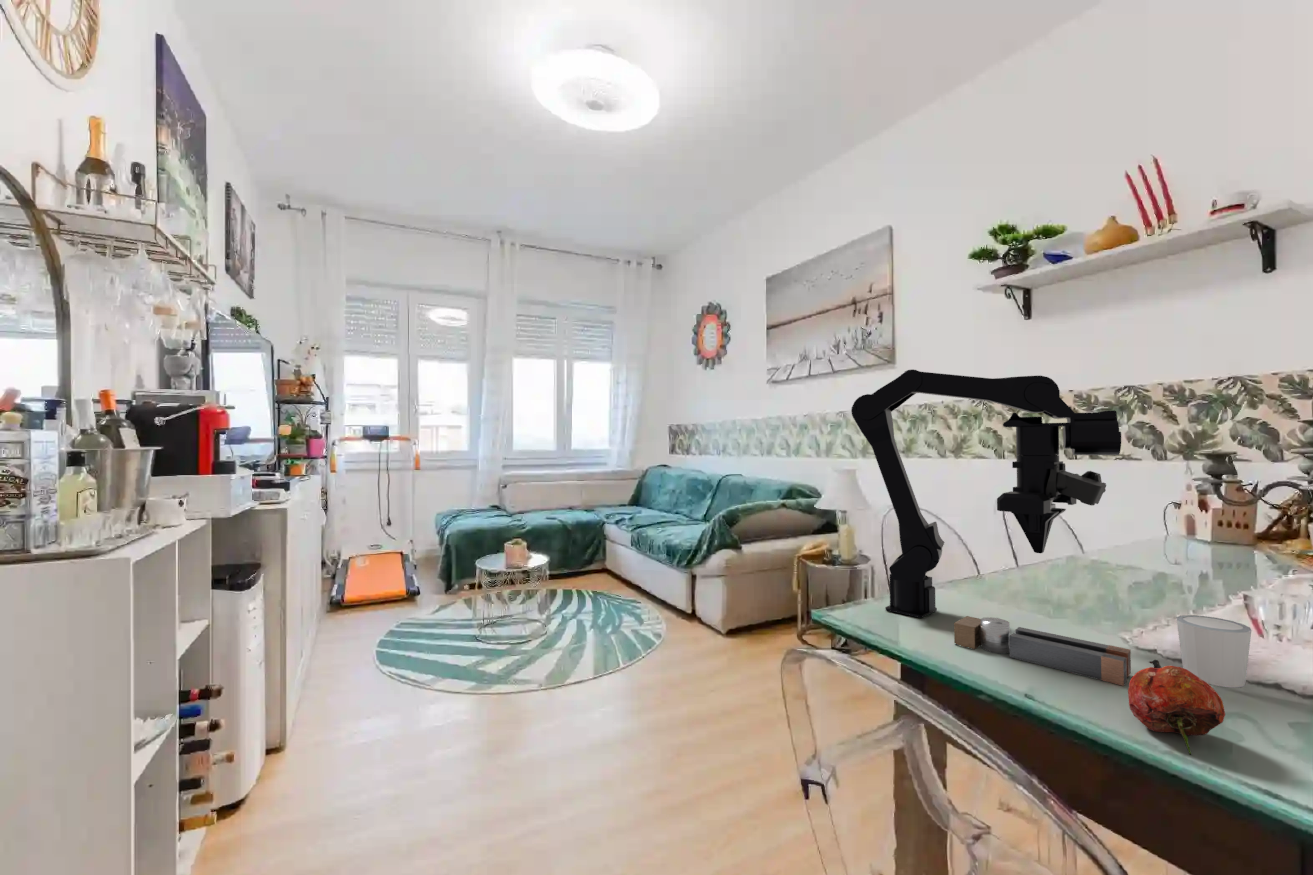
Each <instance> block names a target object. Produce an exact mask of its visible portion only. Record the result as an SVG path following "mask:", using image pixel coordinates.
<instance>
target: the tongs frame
mask: <svg viewBox="0 0 1313 875" xmlns="http://www.w3.org/2000/svg"><path fill="white" fill-rule="evenodd" d="M953 626H954V628H953V630H954V631H953V632H954V633H953V635H954V637H953V638H954V643H956V644H958V645H961V646H960V647H962V646H963V648H966V647H969V648H968V649H970V648H972V649H971V650H977V649H979V647H980V648H981V649H982V650H984V651H986V652H989V653H992V654H1004V655H1005V654H1009V658H1010V659H1016V660H1020V661H1023V662H1028V663H1032V664H1035V665H1039V666H1044V667H1047V668H1050V669H1051V668H1052V669H1055V670H1059V671H1064V672H1067V673H1072V674H1075V675H1080V676H1084V677H1088V678H1093V679H1094V680H1095V679H1096V680H1100V681H1103V682H1106V683H1110V684H1114V685H1115V684H1116V685H1119V686H1123V687H1124V686H1125V685H1126V683H1128V681H1127V680H1128V677H1127V658H1126V657H1121V656H1117V655H1112V654H1108V653H1102V652H1097V651H1093V650H1088V649H1084V648H1079V647H1075V646H1070V645H1066V644H1061V643H1056V642H1052V641H1047V640H1043V639H1038V638H1034V637H1029V636H1024V635H1020V634H1016V633H1014V632H1013V633H1011V634H1010V629H1011V628H1010V622H1009V621H1008V620H1006V619H1002V618H999V617H989V616H987V617H982V618H979V617H978V618H977V617H973V616H969V615H967V616H964V617H963V618H960V619H958V620H957V621H955V622H953ZM954 643H953V644H954ZM958 645H957V646H958Z"/></svg>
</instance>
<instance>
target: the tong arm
mask: <svg viewBox="0 0 1313 875" xmlns="http://www.w3.org/2000/svg"><path fill="white" fill-rule="evenodd" d="M1014 632H1015V634H1020V635H1024V636H1029V637H1034V638H1038V639H1043V640H1047V641H1052V642H1056V643H1061V644H1066V645H1070V646H1075V647H1079V648H1084V649H1088V650H1093V651H1097V652H1102V653H1108V654H1112V655H1117V656H1121V657H1126V658H1127V678H1129V677H1130V675H1131V674H1132V661H1131V658H1132V657H1131V654H1132V653H1131V649H1130V648H1124V647H1119V646H1115V645H1111V644H1105V643H1099V642H1094V641H1089V640H1085V639H1080V638H1076V637H1070V636H1066V635H1060V634H1056V633H1055V634H1054V633H1050V632H1046V631H1040V630H1035V629H1031V628H1025V627H1021V626H1018V627H1017V628H1016V629H1015V631H1014Z"/></svg>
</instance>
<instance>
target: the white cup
mask: <svg viewBox="0 0 1313 875" xmlns="http://www.w3.org/2000/svg"><path fill="white" fill-rule="evenodd" d="M1176 625H1177V632H1178V640H1179V641H1178V642H1179V648H1180V649H1179V650H1180V657H1181V662H1182V663H1181V664H1182V668H1184V669H1187V670H1188V671H1190V672H1191V673H1193V674H1194V675H1196V676H1197V677H1199V678H1200V679H1201V680H1203V681H1205V682H1206V683H1208V684H1209V685H1210V686H1211V685H1213V686H1218V687H1221V688H1222V687H1224V688H1225V687H1226V688H1234V689H1235V688H1242V687H1245V686H1246V681H1247V672H1248V666H1249V665H1248V664H1249V655H1250V646H1251V638H1252V628H1251V627H1250V626H1247V625H1246V624H1243V623H1240V622H1237V621H1233V620H1228V619H1224V618H1219V617H1214V616H1213V617H1212V616H1207V615H1195V614H1194V615H1192V614H1187V615H1185V614H1183V615H1178V616H1176Z"/></svg>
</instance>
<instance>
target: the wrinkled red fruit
mask: <svg viewBox="0 0 1313 875" xmlns="http://www.w3.org/2000/svg"><path fill="white" fill-rule="evenodd" d="M1148 663H1149V664H1152V665H1153V667H1152V666H1149V667H1146V668H1143V669H1140V670H1139V671H1137V672H1135V673H1134V675H1133V676H1132V677H1131V679H1130V680H1129V683H1128V688H1127V694H1128V695H1127V696H1128V707H1129V709H1130V712H1132V715H1133V716H1134V717H1135V718H1136V720H1138V721H1139V722H1140V723H1141V724H1142V725H1143V726H1145V727H1146V728H1147V729H1148V730H1150V731H1153V732H1155V733H1156V732H1157V733H1158V732H1159V733H1174V734H1175V733H1176V734H1180V735H1181V737H1182V739H1183V741H1184V743H1185V746H1186V748H1187V751H1188V753H1189V756H1192V752H1191V748H1190V747H1191V746H1190V745H1189V737H1188V736H1205V735H1207V734H1209V732H1210V731H1211V730H1213V729H1215V728H1216V727H1219V725H1221V724H1222V723H1223V721H1224V719H1225V716H1226V711H1225V705H1224V702H1223V699H1222V698H1221V697H1220V694H1218V692H1217V691H1216V690H1215V689H1214V688H1213V687H1212V686H1211V684H1208V683H1206V682H1205V681H1203V680H1201V679H1200V678H1199V677H1197V676H1196V675H1194V674H1193V673H1191V672H1190V671H1188V670H1187V669H1184V668H1183V667H1181V666H1176V665H1165V666H1163V667H1162V666H1161V664H1160V661H1159V660H1158V659H1154V660H1151V661H1150V660H1149V661H1148Z"/></svg>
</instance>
